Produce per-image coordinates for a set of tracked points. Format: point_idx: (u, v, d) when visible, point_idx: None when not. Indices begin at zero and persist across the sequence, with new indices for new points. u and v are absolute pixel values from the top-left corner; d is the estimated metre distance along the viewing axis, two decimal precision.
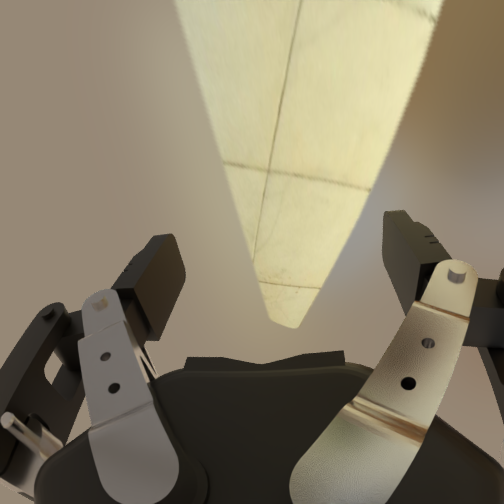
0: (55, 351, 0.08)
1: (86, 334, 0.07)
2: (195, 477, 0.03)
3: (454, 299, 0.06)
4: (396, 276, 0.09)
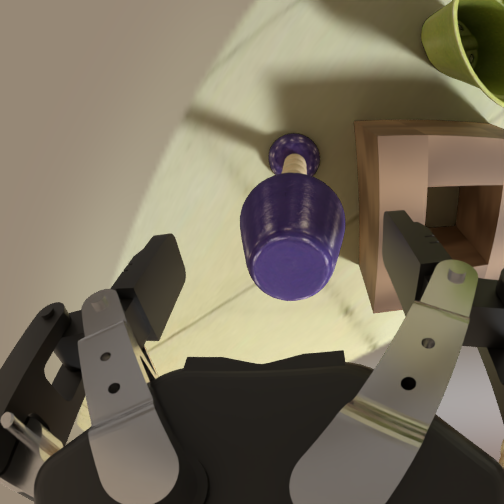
0: (55, 351, 0.08)
1: (86, 334, 0.07)
2: (195, 477, 0.03)
3: (454, 300, 0.06)
4: (396, 276, 0.09)
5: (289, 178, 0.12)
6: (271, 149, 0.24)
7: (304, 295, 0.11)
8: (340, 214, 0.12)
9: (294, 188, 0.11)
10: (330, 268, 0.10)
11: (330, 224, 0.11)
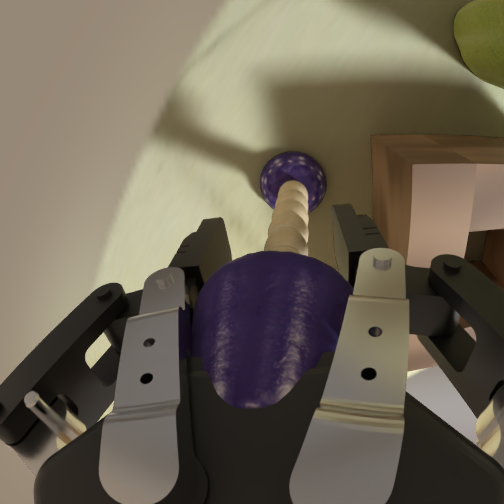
0: (109, 334, 0.08)
1: (141, 311, 0.07)
2: (195, 477, 0.03)
3: (387, 285, 0.06)
4: (340, 266, 0.10)
5: (270, 268, 0.07)
6: (263, 172, 0.19)
7: None
8: None
9: (277, 297, 0.06)
10: None
11: None
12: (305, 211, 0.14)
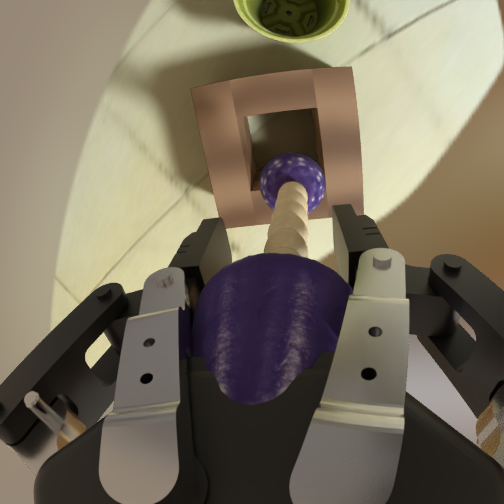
0: (109, 334, 0.08)
1: (141, 311, 0.07)
2: (195, 477, 0.03)
3: (387, 285, 0.06)
4: (340, 266, 0.10)
5: (271, 270, 0.07)
6: (262, 173, 0.19)
7: None
8: None
9: (277, 299, 0.06)
10: None
11: None
12: (305, 212, 0.14)
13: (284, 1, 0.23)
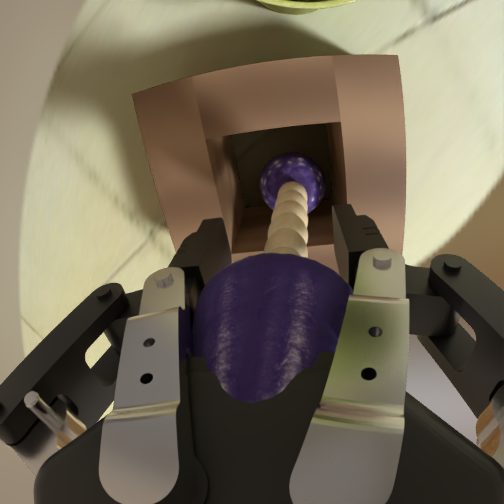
0: (109, 334, 0.08)
1: (141, 311, 0.07)
2: (195, 477, 0.03)
3: (387, 285, 0.06)
4: (340, 266, 0.10)
5: (271, 270, 0.07)
6: (262, 173, 0.19)
7: None
8: None
9: (277, 299, 0.06)
10: None
11: None
12: (304, 212, 0.14)
13: None
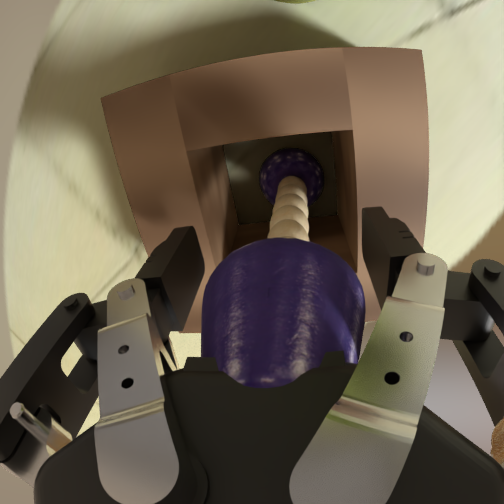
0: (77, 343, 0.08)
1: (108, 323, 0.07)
2: (195, 477, 0.03)
3: (426, 291, 0.06)
4: (372, 270, 0.10)
5: (279, 252, 0.07)
6: (262, 168, 0.19)
7: None
8: (360, 310, 0.07)
9: (286, 279, 0.07)
10: None
11: (345, 347, 0.06)
12: (305, 205, 0.14)
13: None
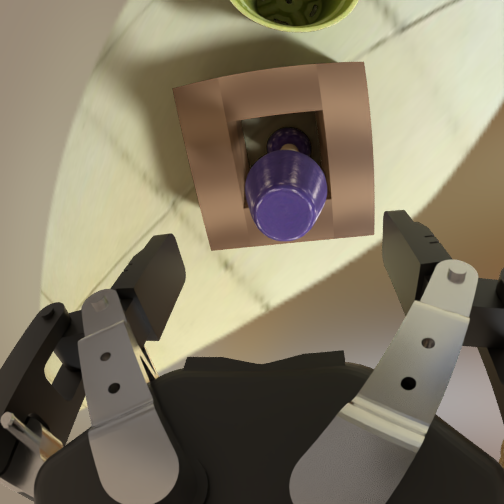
0: (55, 351, 0.08)
1: (86, 334, 0.07)
2: (195, 477, 0.03)
3: (454, 299, 0.06)
4: (396, 276, 0.09)
5: (283, 152, 0.16)
6: (269, 141, 0.27)
7: (295, 236, 0.14)
8: (322, 179, 0.16)
9: (286, 159, 0.15)
10: (313, 213, 0.14)
11: (313, 183, 0.14)
12: None
13: None
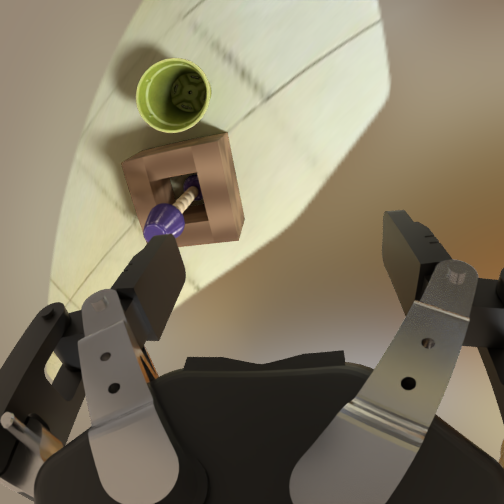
0: (55, 351, 0.08)
1: (86, 334, 0.07)
2: (195, 477, 0.03)
3: (455, 300, 0.06)
4: (396, 276, 0.09)
5: (160, 205, 0.34)
6: (184, 183, 0.46)
7: None
8: (177, 217, 0.34)
9: (160, 209, 0.33)
10: None
11: (168, 220, 0.33)
12: (189, 197, 0.41)
13: (186, 83, 0.38)
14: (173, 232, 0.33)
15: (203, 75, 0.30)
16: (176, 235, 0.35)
